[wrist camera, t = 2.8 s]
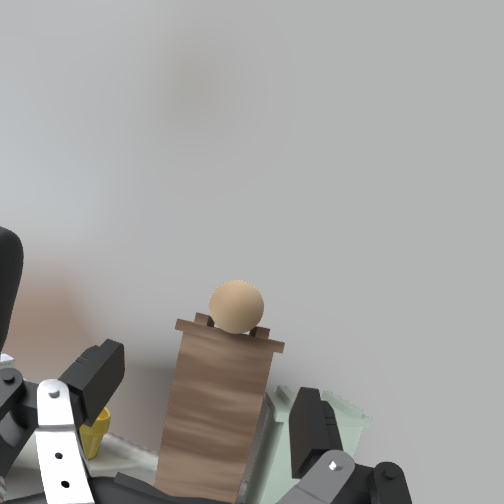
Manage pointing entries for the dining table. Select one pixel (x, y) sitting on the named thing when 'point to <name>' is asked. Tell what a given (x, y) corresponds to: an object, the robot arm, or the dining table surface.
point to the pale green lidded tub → (278, 444)
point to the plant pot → (95, 433)
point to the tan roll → (236, 306)
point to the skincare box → (6, 362)
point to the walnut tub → (213, 409)
